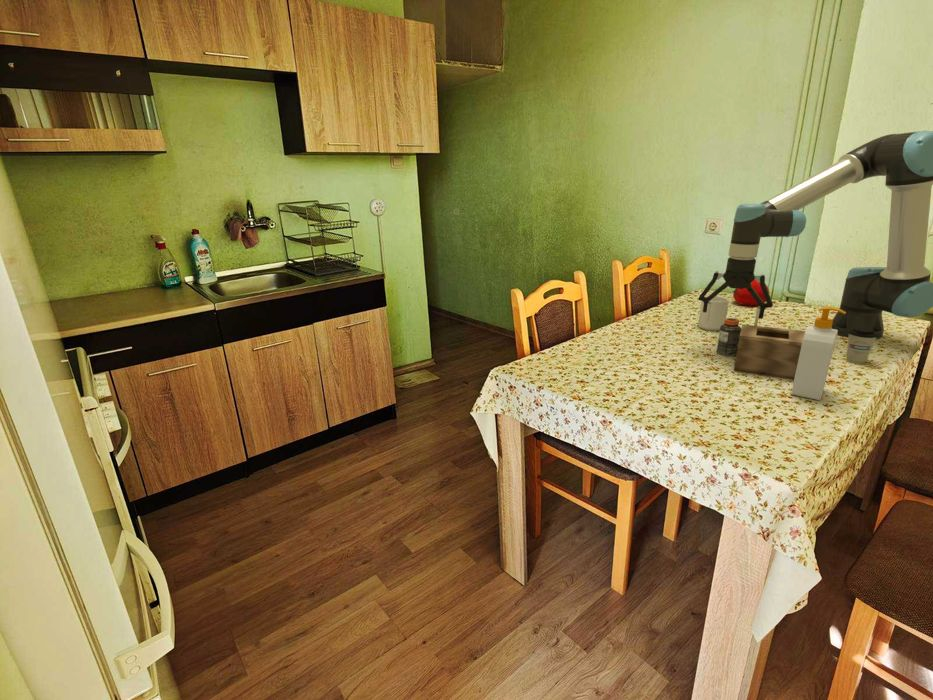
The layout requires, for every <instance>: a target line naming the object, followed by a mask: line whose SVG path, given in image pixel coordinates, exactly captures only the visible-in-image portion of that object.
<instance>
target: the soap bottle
mask: <svg viewBox="0 0 933 700" xmlns="http://www.w3.org/2000/svg"><path fill="white" fill-rule="evenodd" d="M830 311H833V312H841V313H843V314H845V313H846V312H844V311H843V310H840V309H839V308H838V307H837V308H836V307H831V306H823V307H819V309H818V312H822V314H821V317H815V319H814V323H813V325H808V326H807V327H806V329H805V330H804V331H805V334H804V338H803V342H802V346H801V351H800V355H799V360H798V365H797V369H796V374H795V378H794V379H793V383H792V388H791V395H792V396H793V395H794V396H797V397H803V398H805V399H812V400H815V401H816V400H817V401H821V398H822V396H823V392H824V390H825V386H826V383H827V377H828V373H829V370H830V365H831V361H832V357H833V352H834V349H835V344H836V340H837V336H838V334H837V332H838V330H835V329H832V328H831V327H832V323H833V320H832V319H833V318H829V316H830V315H829V314H830Z"/></svg>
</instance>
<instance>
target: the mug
mask: <svg viewBox="0 0 933 700" xmlns="http://www.w3.org/2000/svg"><path fill="white" fill-rule="evenodd" d="M708 296H709V295H705V296H704V297H706V298H707V297H708ZM709 302H711V307H710V314H709V320H708V323H707V324H706V323H705V318H706V313H705V312H703V306H704V302H703V301H701V300H700V308H699V315H698V316H699V317H698V323H697V325H698V326H699V327H700V328H701V329H702V330H705V331H711V332H712V331H713V332H719V331H720V327H721V325H723V324H724V321H725V319H726V318H727V315H728V308H729V302H730V300H729V298H727V297H724V296H718V295H716V296H715V297H714V298H713V299H711V300H710V301H709Z"/></svg>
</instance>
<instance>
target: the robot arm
mask: <svg viewBox="0 0 933 700" xmlns="http://www.w3.org/2000/svg"><path fill="white" fill-rule="evenodd" d="M880 176H882V177H883V176H884V177H885V187H886V188H887V189H889V190H890V191H891V194H890V196H891V197H890V211H889V226H888V227H889V229H888V240H887V241H888V244H887V245H888V246H887V258H886V259H887V261H886V266H862V267H859V266H858V267H853V268H851V269H849V270H848V272H847V275H846V278H845V283H844V287H843V292H842V296H841V301H840V306H839V308H838V309H840V310H843V311H844V312H846V313H845V314H843V313H841V312H838V311H836V313H835V315H834V316H833V318H831V319H832V320H833V323H832V327H831V328H832V329H835V330H838V332H837V336H843V337H847V338H848V336H849V333H848V331H849V330H851V329H853V328H854V327H865V328H870V329H873V330H874V332H875V333H877V336H878V337H876V339H875V340H877V338H878V339H881V338H883V335H884V333H885V327H884V320H883V319H884V318H883V312H887V313H890V314H893V315H894V316H897V317H905V318H909V319H910V318H917V317H920V316H922V315H924V314H926V313H927V312H929V311H930V310H931V309H932V308H933V282H932V281H931V270H930V269H929V268H927V267H926V266H925V264H926V263H925V262H926V251H927V240H928V233H929V231H928V230H929V220H930V219H929V218H930V207H931V199H932V198H931V197H932V186H933V130H921V131H920V130H919V131H913V132H912V131H911V132H904V133H903V132H902V133H892V134H891V133H890V134H886V135H882V136H879V137H877V138H875V139H872V140H870V141H868V142H866V143H864V144H862V145H859V146H858V147H856V148H853V149H852V150H851V151H848V152H847V153H845V154H843V155H842V156H840V157H839V159H838V160H837V162H835V163H834V164H833V163H832V165H829V166H827V167H826V168H824V169H822V170H820V171H818V172H817V173H815V174H813V175H812V176H811V175H810V176H809V177H807V178H806V179H804V180H802V181H800V182H798V183H796V184H795V185H792V186H791V187H789V188H788V189H785V190H784V191H782V192H780V193H777V194H776V195H774V196H773V197H771V198H768V199H767V200H765V201H763V202H760V203H742V204H739V205H738V206H737V207H736V210H735V214H734V219H733V225H732V232H731V239H730V243H729V244H730V245H729V248H728V256H729V257H728V258H727V260H726V268H725V272H724V273H723V272H719V271H718V270H717V271H715V272H714V273H713V276H712V279H711V280H710V281H709V283H708V284H707V285H706V287H705V288H704V290H703V291H702V292H701V294H700V295H699V297H698V298H697V300H698V301H700V302H701V301H703V302H704V306H703V312H705V313H706V318H705V323H706V324H707V323H708V320H709V314H710V307H711V302H709V301H710V300H711V299H713V298H714V297H715V296H718V295H719V294H721V292H723V291H724V290H725V289H726V288H728V287H729V288H731V289H735V288H738V289H744V288H746V289H747V290H748V291H749V293H750V294H751V295H752V297H753V298H754V299H755V301H756V302H757V304H758V305H759V306H757V309H756V315H755V318H754V319H755V320H754V325H753V326H758V323H759V320H763V318H764V316H765V315H764V314H765V310H766V309H769V308H772V307H773V300H772V298H771V295H770V293H769V292H770V291H769V292H768V289H769V288H768V289H767V287H766V285H767V284H766V275H765V274H760V275H755V268H756V263H757V260H756V258H757V257H758V253H759V252H758V251H759V247H760V243H761V239H762V238H780V237H781V238H785V237H786V238H789V237H797V236H799V235H800V234H802V233H803V232H804V229H805V228H806V223H807V216H806V215H805V212H803V211H801V209H803V208H806V207H807V206H809V205H811V204H812V203H813V204H814V203H815V202H817V201H818V200H820V199H822V198H824V197H826V196H828V195H829V194H832V193H833V192H835V191H837V190H839V189H841V188H843V187H846V186H847V185H848V184H858V183H860V182H862V181H864V180H866V179H869V178H873V177H880ZM721 278H723V280H724V282H723V284H721V285H720V286H718V288H716V289H715V290H714V291H713V292H711V293H710V294H709V295H707V294H708V293H709V291H710V290H711V288H712V287H713V286H714V284H715V283H716V282H717V280H720V279H721ZM754 280H757V282H758V283H760V286H761V289H762V292H763V294H764V297H765V300H766V302H765V303H764V302H763V301H762V299H761V298H760V297H759V295H758V294H757V293H756V291H755V290H754V288H753V287H752V285H751V284H750V283H751V282H752V281H754ZM705 296H708V297H707V298H706V297H705Z"/></svg>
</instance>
